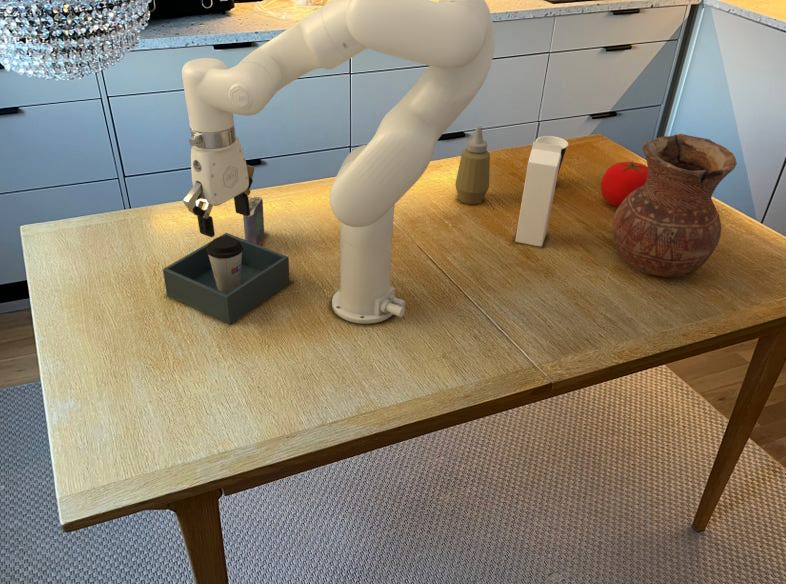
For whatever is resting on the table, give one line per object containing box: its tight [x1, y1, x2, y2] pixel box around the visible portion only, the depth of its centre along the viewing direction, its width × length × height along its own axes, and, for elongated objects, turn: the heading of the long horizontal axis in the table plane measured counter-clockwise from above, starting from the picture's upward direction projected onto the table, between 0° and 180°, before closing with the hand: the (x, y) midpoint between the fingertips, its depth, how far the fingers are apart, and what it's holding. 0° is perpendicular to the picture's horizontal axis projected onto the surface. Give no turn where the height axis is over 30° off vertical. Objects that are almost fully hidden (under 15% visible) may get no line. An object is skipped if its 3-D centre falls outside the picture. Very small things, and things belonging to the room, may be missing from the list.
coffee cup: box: [206, 235, 243, 293], centre depth 147 cm, size 7×7×10 cm
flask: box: [242, 196, 266, 246], centre depth 162 cm, size 9×3×11 cm, turn 172°
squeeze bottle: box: [454, 125, 491, 205], centre depth 179 cm, size 8×8×18 cm
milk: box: [514, 141, 562, 247], centre depth 163 cm, size 6×6×22 cm
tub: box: [162, 232, 291, 325], centre depth 149 cm, size 16×18×6 cm
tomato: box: [600, 160, 648, 209], centre depth 181 cm, size 12×12×10 cm
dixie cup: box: [535, 135, 569, 178], centre depth 189 cm, size 8×8×11 cm
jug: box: [611, 133, 738, 278], centre depth 155 cm, size 22×21×25 cm
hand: (225, 224), depth 142 cm, fingers open, 9 cm apart
